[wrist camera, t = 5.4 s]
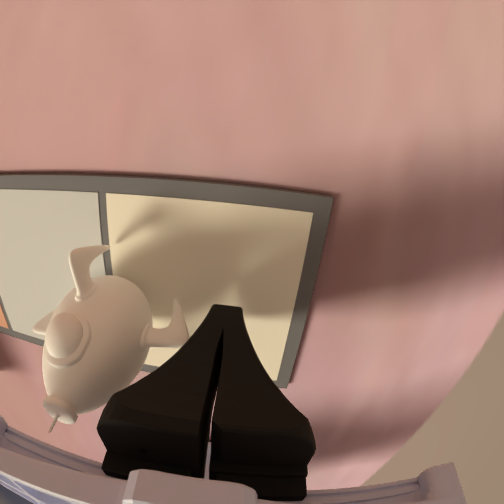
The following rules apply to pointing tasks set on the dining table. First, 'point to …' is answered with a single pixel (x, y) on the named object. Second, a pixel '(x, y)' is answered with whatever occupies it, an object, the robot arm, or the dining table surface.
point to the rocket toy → (98, 339)
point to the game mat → (166, 252)
